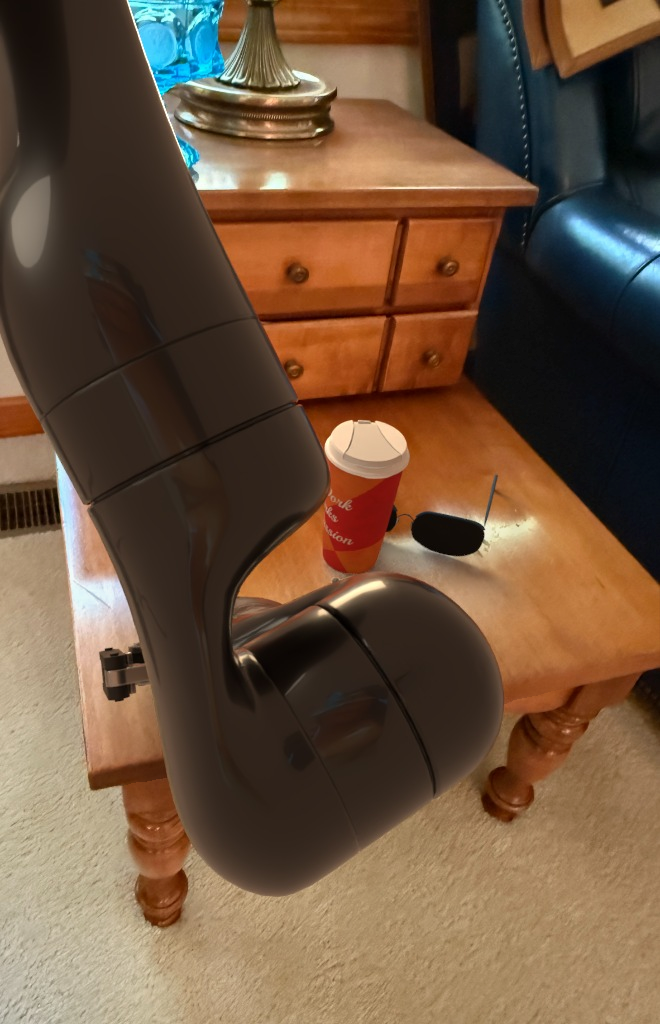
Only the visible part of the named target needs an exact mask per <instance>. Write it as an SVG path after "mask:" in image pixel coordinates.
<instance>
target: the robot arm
mask: <svg viewBox="0 0 660 1024" xmlns="http://www.w3.org/2000/svg"><path fill="white" fill-rule="evenodd" d="M130 6H131V5H130V3H129V0H0V338H1V341H2V344H3V346H4V349H5V353H6V355H7V357H8V358H7V359H8V361H9V363H10V365H11V367H12V370H13V372H14V374H15V376H16V379H17V381H18V383H19V386H20V388H21V390H22V392H23V394H24V396H25V398H26V399H27V402H28V403H29V406H30V407H31V409H32V411H33V413H34V415H35V417H36V419H37V420H38V422H39V423H40V425H41V428H42V430H43V432H44V434H45V436H46V438H47V440H48V442H49V444H50V445H51V447H52V449H53V450H54V452H55V454H56V457H57V458H58V460H59V462H60V463H61V466H62V467H63V470H64V471H65V473H66V476H67V477H68V479H69V481H70V483H71V485H72V486H73V488H74V490H75V492H76V494H77V495H78V498H79V499H80V501H81V503H82V505H84V506H88V507H87V510H86V512H87V514H88V516H89V518H90V520H91V521H92V523H93V526H94V527H95V529H96V531H97V533H98V536H99V538H100V540H101V542H102V545H103V547H104V549H105V551H106V553H107V555H108V557H109V560H110V562H111V564H112V566H113V568H114V571H115V573H116V576H117V579H118V581H119V585H120V587H121V589H122V592H123V594H124V597H125V599H126V603H127V605H128V608H129V609H128V610H129V611H130V615H131V617H132V621H133V624H134V627H135V631H136V634H137V637H138V641H139V642H133V644H132V645H129V646H128V647H127V649H128V650H127V651H126V652H124V651H122V650H121V649H119V648H114V647H105V648H104V650H100V651H98V655H99V660H100V666H101V677H102V683H101V685H102V691H103V693H104V695H105V697H106V699H107V701H114V702H115V703H118V702H124V701H125V699H128V698H130V697H131V695H134V694H136V693H137V687H144V686H147V685H149V688H150V692H151V697H152V703H153V710H154V714H155V721H156V725H157V731H158V737H159V743H160V748H161V752H162V757H163V762H164V768H165V773H166V777H167V781H168V785H169V789H170V790H169V791H170V793H171V797H172V801H173V803H174V808H175V810H176V813H177V815H178V818H179V821H180V823H181V826H182V829H183V830H184V833H185V834H186V837H187V838H188V841H189V842H190V844H191V845H192V847H193V849H194V850H195V852H196V854H197V855H198V856H199V857H200V858H201V859H202V861H203V862H204V863H205V864H206V865H207V866H208V867H209V868H210V870H212V871H213V872H214V873H215V874H217V875H218V876H219V877H220V878H222V879H223V880H224V881H226V882H228V883H230V884H231V885H234V886H235V887H237V888H239V889H240V890H243V891H245V892H248V893H252V894H255V895H258V896H262V897H273V898H274V897H275V898H283V897H287V896H292V895H295V894H297V893H300V892H301V891H303V890H306V889H308V888H309V887H311V886H313V885H315V884H316V883H318V882H319V881H321V880H323V879H324V878H325V877H326V876H328V875H330V874H331V873H333V872H335V871H336V870H338V869H339V868H341V866H343V865H344V864H346V863H348V862H349V861H350V860H351V859H353V858H354V857H355V856H357V855H358V854H359V852H362V851H364V850H365V849H367V848H368V847H369V846H371V845H373V844H374V843H375V842H377V841H378V840H380V839H381V838H382V837H384V836H385V835H386V834H388V833H389V832H392V830H394V829H395V828H397V827H398V826H400V825H401V824H402V823H404V822H405V821H407V820H408V819H409V818H411V817H412V816H414V815H415V814H417V813H418V812H419V811H421V810H422V809H424V808H425V807H427V806H428V805H430V804H431V803H432V800H437V799H438V798H440V797H441V796H443V795H444V794H445V793H447V792H448V791H450V790H451V789H452V788H454V787H455V786H458V785H459V783H461V782H463V781H464V780H465V779H466V778H467V777H469V776H470V775H472V774H473V773H474V772H475V771H476V770H477V768H478V767H480V765H481V764H483V762H484V761H485V760H486V758H487V757H488V756H489V754H490V753H491V751H492V750H493V749H494V746H495V743H496V741H497V739H498V737H499V734H500V731H501V728H502V724H503V717H504V711H505V692H504V684H503V677H502V673H501V669H500V665H499V663H498V660H497V657H496V654H495V652H494V650H493V648H492V646H491V643H490V642H489V641H488V639H487V637H486V635H485V634H484V632H483V631H482V629H481V628H480V626H479V625H478V624H477V622H476V621H475V620H474V619H473V618H472V617H471V616H470V615H469V614H468V613H467V612H466V611H465V610H464V609H463V608H462V607H461V606H460V605H459V604H458V603H457V602H456V601H454V599H452V598H451V597H450V596H448V595H447V594H446V593H444V592H443V591H441V590H440V589H439V588H437V587H435V586H433V585H431V584H430V583H427V582H425V581H424V580H421V579H419V578H416V577H413V576H410V575H408V574H404V573H400V572H395V571H388V570H387V571H386V570H385V571H384V570H376V571H374V570H373V571H367V572H365V573H360V574H352V575H349V576H348V577H345V578H342V579H339V581H336V582H334V583H332V582H331V583H329V584H327V585H325V586H322V587H319V588H317V589H315V590H312V591H309V592H307V593H304V594H303V595H300V596H299V597H297V598H295V599H292V600H291V601H288V602H285V603H281V602H278V601H275V600H272V599H269V598H264V597H257V596H255V597H254V596H239V593H240V591H241V588H242V587H243V585H244V583H245V582H246V580H247V579H248V578H249V576H250V575H251V574H252V573H253V571H254V570H255V569H256V568H257V566H259V564H260V563H261V562H263V561H264V560H265V559H266V558H267V557H268V556H269V555H270V554H271V553H273V552H274V551H275V549H277V548H278V547H279V546H280V545H282V544H283V543H284V542H285V541H286V540H287V539H289V538H290V537H291V536H292V535H293V534H294V533H295V532H297V531H298V530H299V529H300V528H302V527H303V526H304V525H305V524H306V523H307V522H308V521H309V520H310V519H311V518H312V517H313V516H314V515H315V514H316V513H317V512H318V511H319V510H320V509H321V507H322V506H323V504H325V500H326V498H327V496H328V493H329V490H330V485H331V474H330V469H329V464H328V461H327V456H326V453H325V449H324V448H323V445H322V443H321V440H320V439H319V437H318V434H317V432H316V430H315V428H314V426H313V424H312V422H311V421H310V419H309V416H308V414H307V412H306V410H305V408H304V406H303V404H300V403H298V402H299V399H300V398H299V396H298V394H297V392H296V389H295V387H294V386H293V384H292V382H291V380H290V377H289V376H288V374H287V371H286V369H285V368H284V365H283V363H282V362H281V359H280V357H279V355H278V354H277V351H276V349H275V348H274V345H273V343H272V342H271V341H272V340H271V339H270V337H269V334H268V332H267V331H266V329H265V326H264V325H263V322H262V321H261V320H260V317H259V314H258V313H257V311H256V309H255V307H254V305H253V303H252V301H251V299H250V297H249V295H248V293H247V291H246V289H245V287H244V285H243V283H242V281H241V279H240V277H239V275H238V273H237V271H236V269H235V268H234V265H233V263H232V262H231V261H232V260H231V259H230V256H229V254H228V253H227V251H226V248H225V246H224V244H223V241H222V240H221V237H220V236H219V233H218V232H217V229H216V228H215V225H214V223H213V221H212V219H211V217H210V215H209V213H208V210H207V209H206V206H205V204H204V202H203V199H202V197H201V195H200V193H199V190H198V188H197V185H196V183H195V181H194V179H193V176H192V174H191V171H190V169H189V167H188V164H187V162H186V159H185V156H184V154H183V152H182V149H181V146H180V143H179V142H178V139H177V136H176V134H175V131H174V128H173V125H172V124H171V121H170V118H169V115H168V113H167V110H166V107H165V104H164V102H163V99H162V95H161V94H160V90H159V88H158V85H157V82H156V79H155V77H154V74H153V71H152V68H151V66H150V62H149V60H148V57H147V54H146V51H145V49H144V46H143V43H142V39H141V37H140V33H139V29H138V27H137V24H136V20H135V17H134V15H133V12H132V9H131V7H130ZM297 403H298V404H297Z"/></svg>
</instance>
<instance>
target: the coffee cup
mask: <svg viewBox="0 0 660 1024" xmlns="http://www.w3.org/2000/svg"><path fill="white" fill-rule="evenodd" d="M324 453H325V456H326V459H327V461H328V464H329V469H330V474H331V485H330V490H329V493H328V496H327V498H326V500H325V501H324V506H323V526H322V550H321V551H322V557H323V560H324V562H325V563H326V565H328V566H329V567H330V568H331V569H333V570H334V571H336V572H338V573H342V574H345V575H357V574H360V573H365V572H370V571H371V570H372V569H373V568H374V567H375V566H376V564H377V562H378V560H379V557H380V553H381V550H382V548H383V544H384V539H385V536H386V533H387V532H386V530H387V526H388V522H389V519H390V515H391V512H392V508H393V505H395V501H396V497H397V493H398V489H399V486H400V483H401V480H402V476H403V473H404V470H405V469H406V468H407V467H408V465H409V464H410V463H409V462H410V459H411V457H410V456H411V455H410V450H409V449H408V443H407V440H406V438H405V436H404V435H403V433H401V431H400V430H399V429H397V428H396V427H394V426H392V425H390V424H388V423H386V422H383V421H379V420H375V421H374V422H371V420H363V419H358V420H357V421H354V420H353V419H350V420H347V421H344V422H342V423H340V424H338V425H337V426H336V427H334V429H333V430H332V432H331V434H330V435H329V437H328V438H327V439H326V441H325V444H324Z"/></svg>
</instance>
